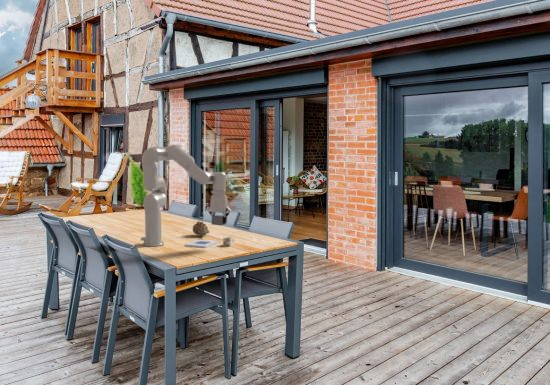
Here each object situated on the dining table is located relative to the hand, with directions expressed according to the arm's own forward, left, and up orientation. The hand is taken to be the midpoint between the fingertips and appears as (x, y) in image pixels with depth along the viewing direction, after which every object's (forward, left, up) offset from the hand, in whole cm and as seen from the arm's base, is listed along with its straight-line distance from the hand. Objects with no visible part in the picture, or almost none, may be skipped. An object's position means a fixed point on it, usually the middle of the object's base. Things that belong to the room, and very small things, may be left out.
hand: (219, 222), depth 288 cm
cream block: (+1, +10, -15) cm, 18 cm away
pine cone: (-28, +29, -15) cm, 43 cm away
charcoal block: (0, 0, -1) cm, 1 cm away
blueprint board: (-15, +6, -15) cm, 22 cm away
